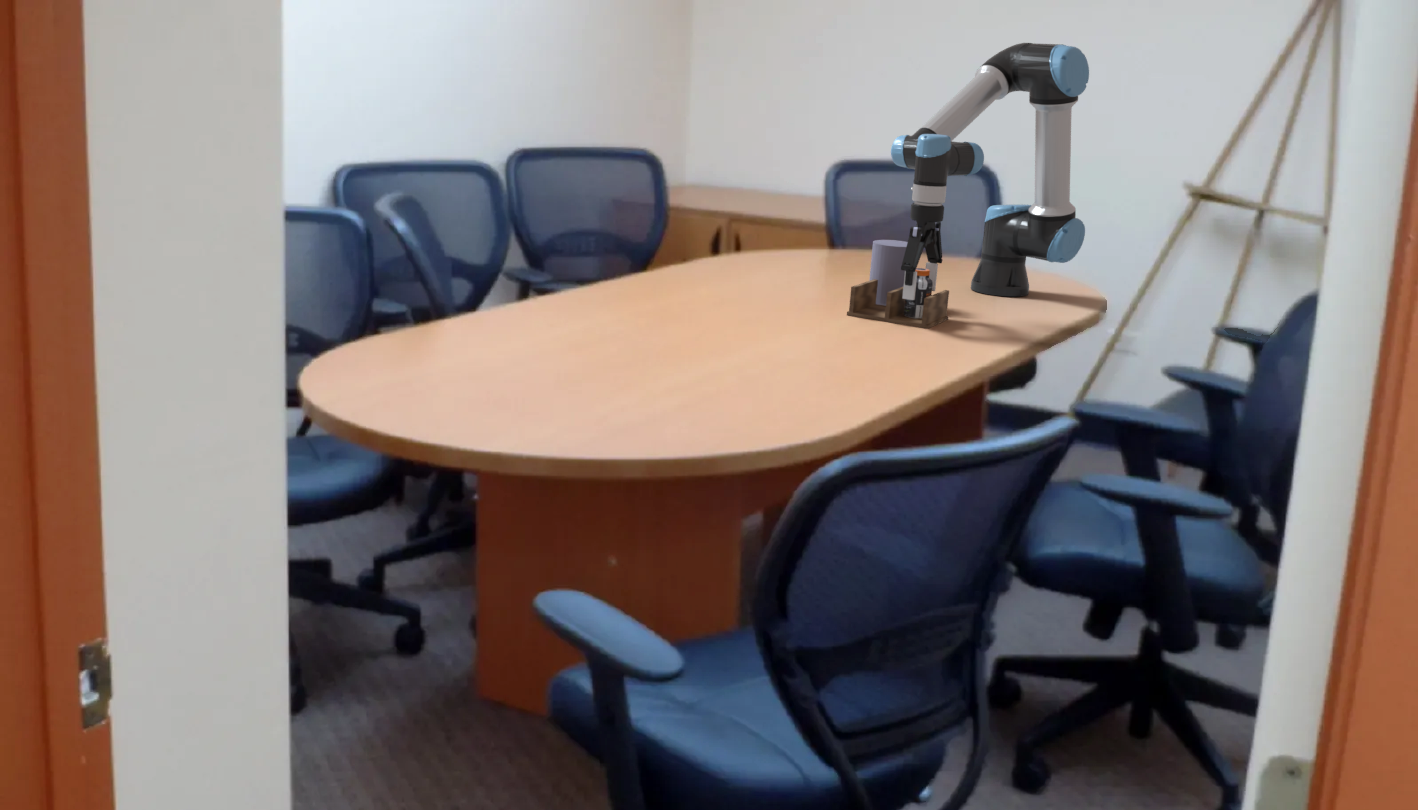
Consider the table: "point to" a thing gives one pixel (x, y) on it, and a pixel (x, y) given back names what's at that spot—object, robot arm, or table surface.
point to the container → (887, 267)
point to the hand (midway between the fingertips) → (919, 294)
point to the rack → (895, 306)
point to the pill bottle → (919, 294)
